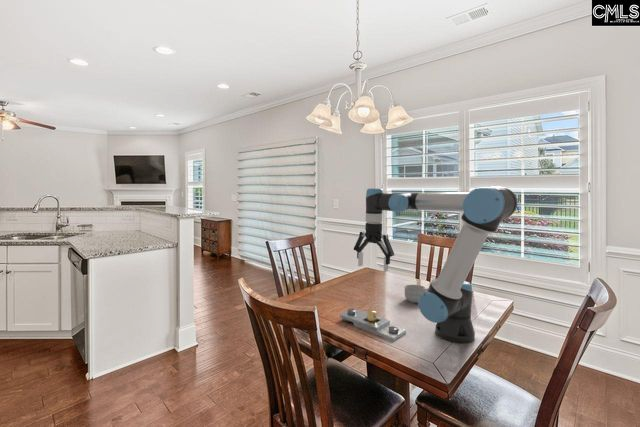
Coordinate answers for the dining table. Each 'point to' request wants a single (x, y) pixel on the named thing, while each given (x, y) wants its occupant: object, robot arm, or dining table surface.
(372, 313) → the brass pin
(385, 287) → the dining table surface
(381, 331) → the grey peg base plate
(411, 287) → the teacup
